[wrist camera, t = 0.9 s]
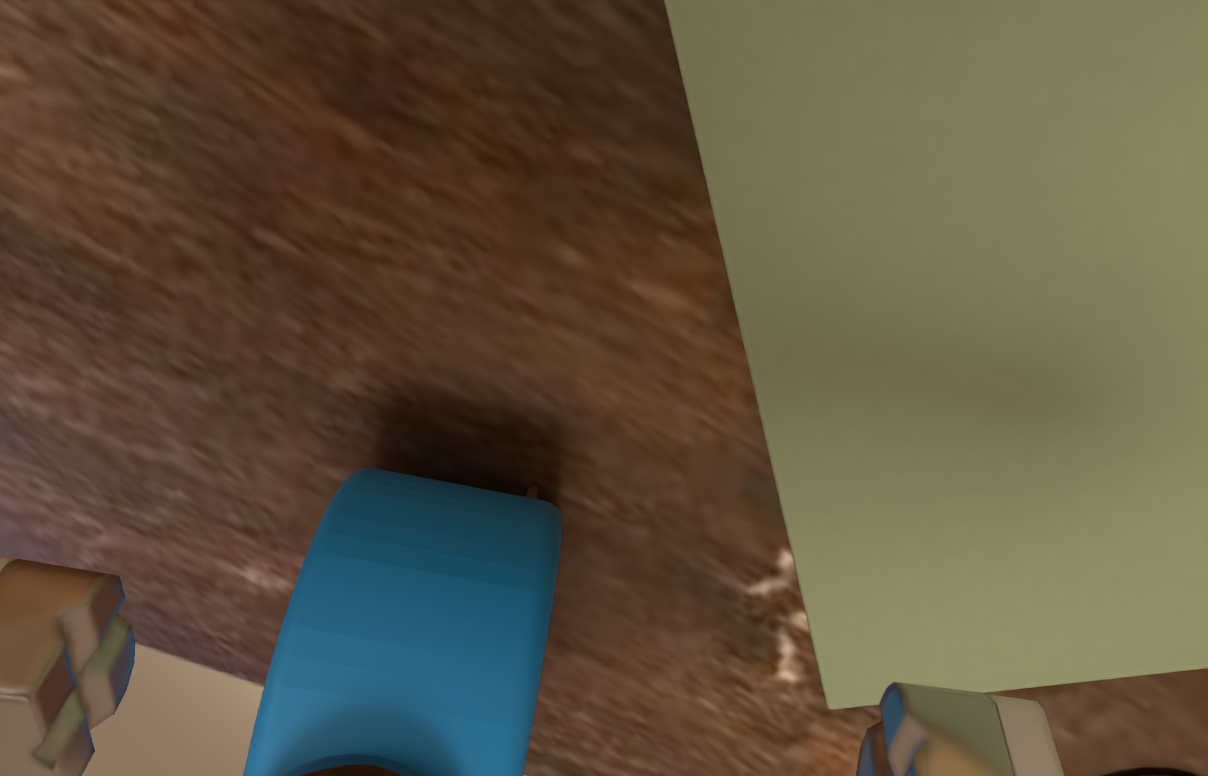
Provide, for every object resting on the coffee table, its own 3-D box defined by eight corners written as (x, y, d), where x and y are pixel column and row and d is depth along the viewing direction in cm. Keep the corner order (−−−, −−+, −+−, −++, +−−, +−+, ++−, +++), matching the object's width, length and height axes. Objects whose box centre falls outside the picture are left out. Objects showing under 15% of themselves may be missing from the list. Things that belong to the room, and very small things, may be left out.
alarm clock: (519, 691, 39) (438, 1181, 26) (350, 660, 38) (188, 1142, 26) (582, 408, 31) (508, 914, 19) (372, 367, 31) (158, 855, 18)
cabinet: (671, -150, 22) (657, -29, 14) (1346, -342, 20) (1786, -324, 12) (794, 433, 31) (828, 711, 23) (1276, 354, 28) (1503, 636, 20)
